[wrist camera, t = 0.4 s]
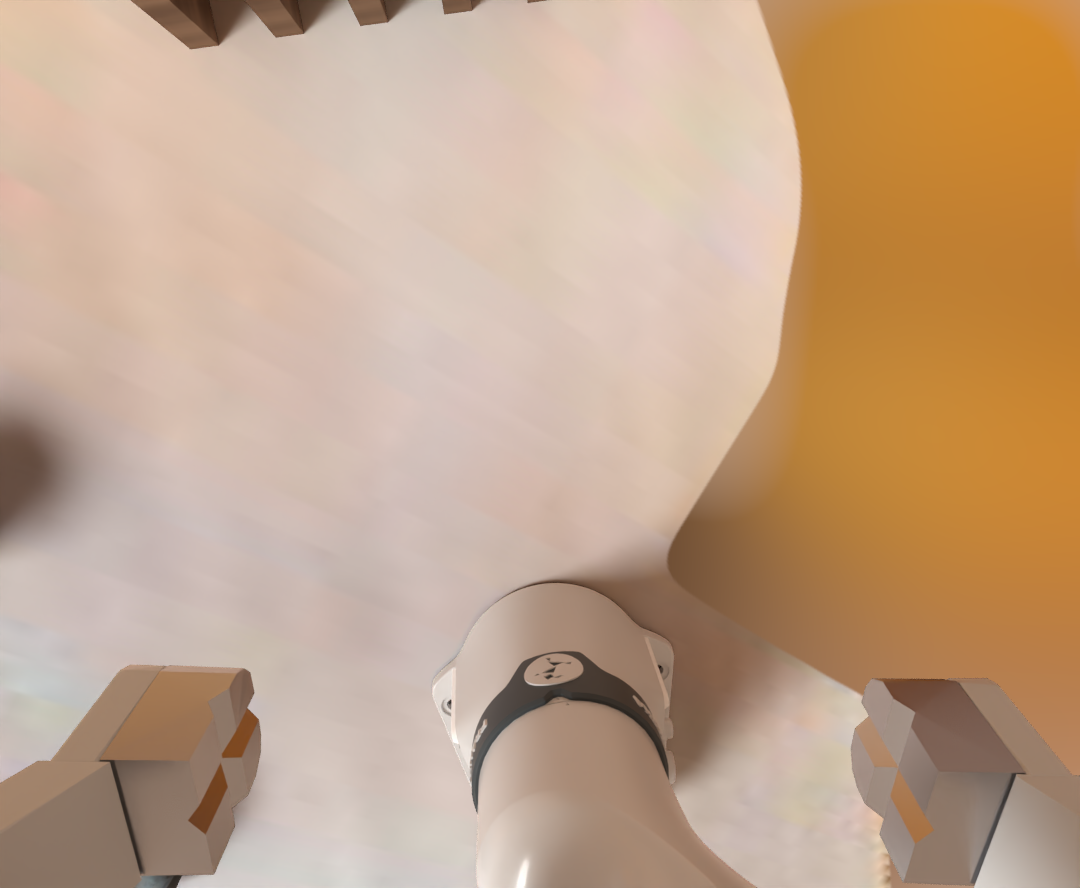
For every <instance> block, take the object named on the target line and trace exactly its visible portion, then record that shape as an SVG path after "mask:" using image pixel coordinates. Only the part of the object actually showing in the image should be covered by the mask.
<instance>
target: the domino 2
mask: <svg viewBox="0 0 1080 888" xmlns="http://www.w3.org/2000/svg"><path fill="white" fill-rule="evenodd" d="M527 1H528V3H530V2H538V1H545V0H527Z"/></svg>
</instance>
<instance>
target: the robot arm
mask: <svg viewBox="0 0 1080 888" xmlns="http://www.w3.org/2000/svg"><path fill="white" fill-rule="evenodd" d="M658 665H660V666H661V668H660V669H659V668H658ZM673 666H674V652H673V649H672V646H671V644H670V642H669V641H668V640H667V639H665V638H664V637H662V636H660V635H658V634H656V633H654V632H651V631H649V630H646V629H644V628H641V627H640V626H638V625H637V624H636V623H635V622H634V621H632V620H631V619H630V617H629V616H628V615H627V614H626V613H625V612H624V611H623V610H622V609H621V608H620V607H619V606H618V605H617V604H615V603H614V602H613V601H611V600H610V599H608V598H607V597H605V596H604V595H602V594H600V593H598V592H596V591H594V590H591V589H588V588H585V587H582V586H578V585H573V584H565V583H546V584H539V585H534V586H530V587H526V588H523V589H520V590H518V591H515V592H513V593H511V594H509V595H507V596H505V597H504V598H502V599H500V600H499V601H498V602H496V603H495V604H494V605H492V606H491V607H490V608H489V609H488V610H487V611H486V612H485V613H484V614H483V615H482V616H481V617H480V618H479V619H478V621H477V622H476V623H475V625H474V626H473V628H472V629H471V631H470V633H469V635H468V637H467V639H466V641H465V643H464V645H463V647H462V649H461V651H460V653H459V654H458V656H457V657H456V658H455V659H454V660H453V661H452V662H450V663H449V664H448V665H447V666H446V667H445V668H443V669H442V670H441V671H440V672H439V673H438V674H437V676H436V677H435V678H434V680H433V682H432V696H433V699H434V702H435V704H436V706H437V709H438V711H439V713H440V716H441V718H442V720H443V723H444V725H445V727H446V730H447V732H448V734H449V737H450V739H451V741H452V744H453V746H454V748H455V751H456V753H457V756H458V758H459V760H460V763H461V765H462V767H463V770H464V772H465V774H466V777H467V779H468V781H469V784H470V786H471V788H472V796H473V802H474V805H475V808H476V812H477V814H478V820H477V854H476V881H477V888H757V887H756V886H754V885H753V884H751V883H750V882H749V881H747V880H746V879H745V878H743V877H742V876H741V875H739V874H738V873H737V872H736V871H734V870H733V869H732V868H731V867H729V866H728V865H727V864H726V863H725V862H724V861H722V860H721V859H720V858H719V857H718V856H717V855H715V854H714V853H713V852H712V851H711V850H710V849H709V848H708V847H707V846H706V845H705V844H704V843H703V842H702V840H701V839H700V838H699V837H698V836H697V835H696V833H695V832H694V831H693V829H692V828H691V826H690V824H689V823H688V820H687V818H686V816H685V814H684V812H683V810H682V808H681V806H680V804H679V802H678V800H677V798H676V796H675V793H674V791H673V789H672V787H671V785H670V784H672V783H674V782H675V780H676V765H675V759H674V755H673V753H672V751H669V750H666V744H667V739H672V738H673V723H672V720H671V719H670V718H669V711H670V700H671V688H672V677H673ZM253 695H254V688H253V683H252V678H251V674H250V672H249V671H247V670H246V669H244V668H223V667H197V666H172V665H169V666H154V665H129V666H127V667H125V668H123V669H121V670H120V671H119V672H118V673H117V674H116V676H115V677H114V678H113V680H112V681H111V682H110V684H109V685H108V686H107V688H106V689H105V690H104V692H103V693H102V694H101V695H100V697H99V698H98V699H97V701H96V702H95V703H94V705H93V706H92V707H91V709H90V710H89V711H88V713H87V714H86V715H85V716H84V718H83V719H82V720H81V722H80V723H79V724H78V726H77V727H76V728H75V730H74V731H73V732H72V734H71V735H70V736H69V738H68V739H67V740H66V741H65V743H64V744H63V745H62V747H61V748H60V749H59V751H58V752H57V753H56V755H55V756H54V757H53V759H52V760H51V761H37V762H35V763H34V764H32V765H30V766H28V767H27V768H25V769H23V770H22V771H20V772H18V773H17V774H15V775H13V776H11V777H10V778H8V779H6V780H5V781H3V782H1V783H0V888H134V887H135V886H136V885H137V884H138V883H139V882H140V881H141V880H142V878H141V876H157V875H213V874H214V873H215V871H216V869H217V866H218V864H219V862H220V859H221V857H222V855H223V853H224V850H225V848H226V846H227V843H228V841H229V839H230V836H231V834H232V832H233V829H234V827H235V823H234V818H233V812H232V808H233V807H234V806H235V805H236V804H238V803H239V802H240V801H241V800H243V799H244V798H245V797H246V796H248V794H249V792H250V789H251V787H252V784H253V782H254V779H255V777H256V773H257V768H258V763H259V758H260V753H261V731H260V724H259V719H258V718H257V717H256V716H255V715H254V714H253V713H252V712H251V711H250V710H249V709H248V708H247V707H248V705H249V703H250V701H251V699H252V697H253ZM451 699H452V704H449V703H448V701H449V700H451ZM862 704H863V706H864V708H865V709H866V711H867V713H868V715H869V716H868V717H867V718H866V719H865V720H864V721H863V722H862V723H861V724H859V725H858V726H857V727H856V728H855V731H854V735H853V740H852V745H851V758H852V770H853V774H854V778H855V781H856V785H857V788H858V790H859V792H860V794H861V796H862V799H863V801H864V803H865V804H866V805H867V806H868V807H870V808H871V809H872V810H874V811H875V812H876V813H877V814H879V815H880V816H881V817H882V818H884V820H883V823H882V827H881V831H880V836H881V838H882V840H883V842H884V844H885V847H886V849H887V851H888V853H889V855H890V857H891V859H892V861H893V863H894V865H895V867H896V869H897V871H898V873H899V875H900V877H901V879H902V881H903V883H918V884H943V885H968V886H974V888H1080V776H1077V775H1072V774H1071V773H1070V771H1069V770H1068V769H1067V768H1066V767H1065V765H1064V764H1063V763H1062V762H1061V761H1060V759H1059V758H1058V757H1057V756H1056V755H1055V753H1054V752H1053V751H1052V750H1051V748H1050V747H1049V746H1048V745H1047V744H1046V742H1045V741H1044V740H1043V739H1042V737H1041V736H1040V735H1039V734H1038V733H1037V731H1036V730H1035V729H1034V728H1033V727H1032V725H1031V724H1030V723H1029V722H1028V720H1027V719H1026V718H1025V717H1024V716H1023V714H1022V713H1021V712H1020V711H1019V710H1018V708H1017V707H1016V706H1015V705H1014V703H1013V702H1012V701H1011V700H1010V699H1009V698H1008V696H1007V695H1006V694H1005V693H1004V692H1003V690H1002V689H1001V688H1000V686H999V685H998V684H996V683H995V682H993V681H991V680H989V679H988V678H951V679H950V678H949V679H947V680H945V679H871V681H870V682H869V683H868V685H867V686H866V688H865V692H864V695H863V699H862Z"/></svg>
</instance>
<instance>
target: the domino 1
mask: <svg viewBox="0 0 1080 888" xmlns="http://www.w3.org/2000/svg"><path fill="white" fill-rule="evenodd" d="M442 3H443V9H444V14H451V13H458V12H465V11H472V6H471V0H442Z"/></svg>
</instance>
